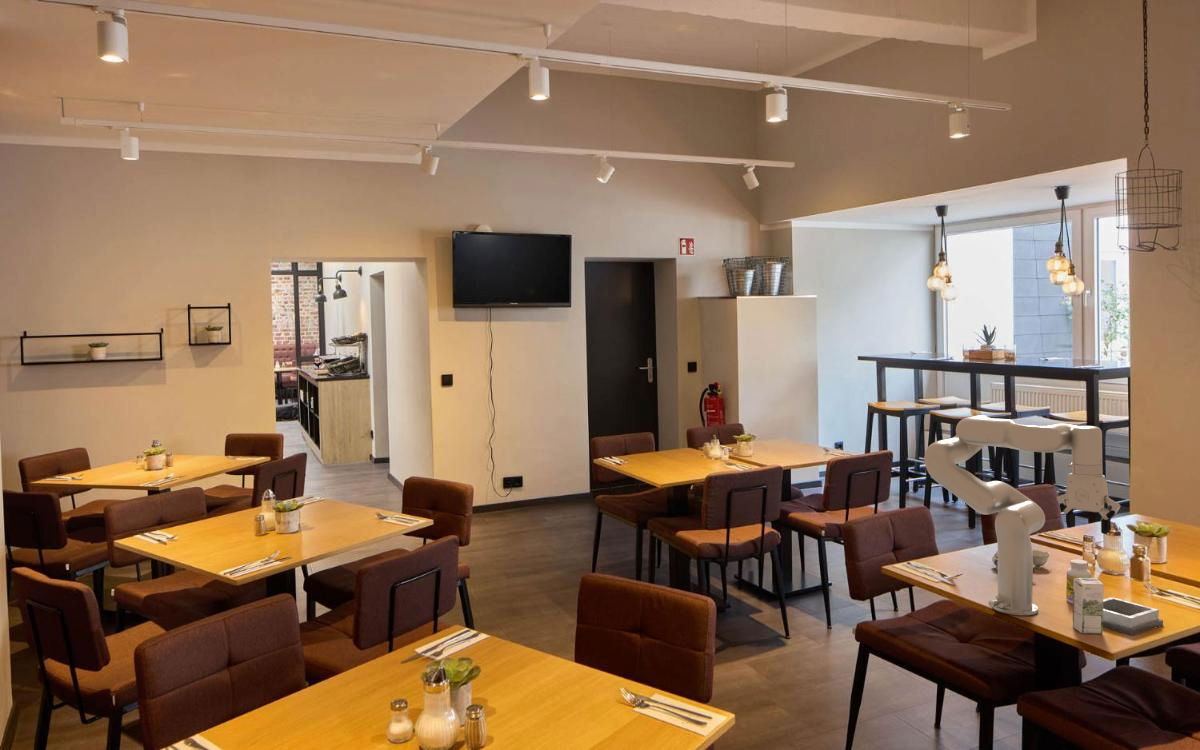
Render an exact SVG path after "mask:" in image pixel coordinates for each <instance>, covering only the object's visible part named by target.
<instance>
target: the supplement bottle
mask: <svg viewBox="0 0 1200 750" xmlns="http://www.w3.org/2000/svg"><path fill="white" fill-rule="evenodd" d="M1088 563H1089V561H1087V560H1083V559H1078V558H1077V559H1071V560H1070V562H1069V564H1070V567H1068V568H1067V570H1066V589H1065V590H1066V593H1065V594H1066V595H1065V597H1066V598H1065V599H1066V601H1067V602H1068V603H1070V604H1072V605H1073V584H1074V578H1092V572H1091V571H1090V570H1089V569H1088V566H1089V564H1088Z"/></svg>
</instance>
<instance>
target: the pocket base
mask: <svg viewBox="0 0 1200 750" xmlns="http://www.w3.org/2000/svg"><path fill="white" fill-rule="evenodd" d="M1159 610H1160V609H1158V608H1154V607H1150V606H1146V605H1144V604H1139V603H1136V602H1132V601H1128V600H1124V599H1120V598H1117V597H1113V596H1111V597H1107V598H1104V600H1103V628H1106V629H1109V630H1112V631H1115V630H1116V632H1119V633H1122V632H1123V634H1125V633H1126V634H1125V635H1130V636H1135V634H1136V635H1138V633H1139V634H1142V633H1144V632H1143V631H1145V632H1148V631H1150V630H1149V629H1151V630H1153V629H1152V628H1154V629H1156V628H1155V627H1157V628H1160V627H1162V625H1163V626H1164V620H1163V619H1160V618H1159V617H1160V616H1159V613H1160V611H1159ZM1159 626H1160V627H1159ZM1147 630H1148V631H1147ZM1141 632H1142V633H1141Z"/></svg>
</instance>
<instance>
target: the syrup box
mask: <svg viewBox="0 0 1200 750" xmlns="http://www.w3.org/2000/svg"><path fill="white" fill-rule="evenodd" d="M1104 588H1105V584H1103V582H1101V581H1100V580H1099V579H1097V578H1095V577H1091V578H1074V584H1073V604H1072V627H1073V628H1074V629H1075V630H1077V631H1078V632H1079V633H1081V634H1085V635H1086V634H1088V635H1089V634H1091V635H1094V634H1095V635H1097V634H1098V635H1101V634H1103V633H1104V631H1103V629H1104V627H1103V600H1104V599H1105V597H1104V596H1105V594H1104V593H1105V589H1104Z"/></svg>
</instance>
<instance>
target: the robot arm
mask: <svg viewBox="0 0 1200 750" xmlns="http://www.w3.org/2000/svg"><path fill="white" fill-rule="evenodd" d="M985 446H987V447H988V446H989V447H998V448H1009V449H1011V450H1012V449H1013V450H1017V451H1024V452H1033V453H1034V452H1035V453H1046V454H1048V453H1055V452H1056V453H1057V452H1059V451H1064V450H1069V449H1070V450H1071V463H1068V464H1067V469H1070V470H1071V472H1070V473H1068V476H1067V481H1066V488H1065V493H1064V494H1061V495H1058V496H1056V500H1057V502H1058V504H1059V507H1060V508H1061V509H1062V510H1063V513H1064V514H1065V523H1066V528H1068V529H1071V528H1074V527H1076V513H1075V512H1074V511H1075V510H1077V511H1083V512H1091V513H1098V514H1099V515H1100V516H1101V517H1102V519H1101V521H1100V525H1101V526H1100V531H1101V532H1100V533H1101V534H1103V535H1105V534H1109V533H1110V532H1111V530H1112V523H1111V522H1112V521H1111V519H1113V518H1114V517H1115V516H1116V515H1117V514H1118V511H1119V510H1120V508H1121V504H1120V503H1119V502H1116V501H1115V500H1113V499H1112V498H1110V497H1109V489H1108V482H1107V480H1106V476H1105V475H1104V474H1103V472H1104V471H1103V431H1102V429H1101V428H1100V427H1098V426H1095V425H1094V426H1093V425H1073V424H1069V423H1068V424H1067V423H1055V424H1050V425H1046V426H1045V425H1043V426H1041V425H1040V426H1039V425H1025V424H1019V423H1017V422H1016V423H1015V421H1014V420H1012V419H1006V418H991V417H990V416H987V415H983V414H982V415H981V414H980V415H972V416H968V417H964V418H963V419H961V420H959V421H958V423H957V424H956V427H955V435H954V436H953V437H951V438H946V439H940V440H938V441H935V442H932V443H931V444H930V445H928V446H927V448H926V450H925V452H924V465H925V468H926V470H927V473H928V474H929V475H930V477H931V478H932V479H933V480H934V482H936V483H938V484H939V485H940V486H941V487H943V488H945V489H946V490H947V491H948V492H950V493H952V494H953V495H954V496H955V497H957V498H958V499H959V500H960V501H962V502H963V503H965V504H967V505H968V506H969V507H970V508H972V509H973V510H974V511H975V512H976V513H977V512H978V514H981V515H987V516H988V515H993V514H996V513H997V514H996V517H995V520H994V521H995V522H994V528H995V529H994V530H995V534H996V541H997V551H998V570H997V594H996V595H995V598H994V599H992V600H989V601H988V602H987V603H988V606H989V607H990V608H993V610H995V611H996V612H1000V613H1003V614H1006V615H1014V616H1032V615H1033V616H1034V615H1036V614H1037V613H1038V612H1039V607H1038V606H1037V605H1036V604H1035V603H1033V590H1034V589H1033V586H1034V585H1033V583H1034V582H1033V579H1034V577H1033V573H1034V572H1033V569H1034V568H1033V544H1032V541H1031V536H1030V535H1031V534H1033V533H1036V532H1038V531H1039V530H1041V529H1042V528H1043V526H1044V525H1045V523H1046V514H1045V512H1044V510H1043V509H1042V508H1041V506H1040V505H1038V503H1036V502H1035V501H1034V500H1032V499H1031V498H1030V497H1028V496H1026V495H1025V494H1023V493H1021V492H1020V491H1019V490H1017V489H1016V488H1015V487H1014V486H1011V485H1010V484H1009V483H1006V482H1004V481H999V480H991V481H983V480H981V479H980V478H979V477H977V476H976V475H974V474H973V473H971V472H969V471H968V470H966V469H964V468H962V467H960V466H958V464H962V463H964V462H966V461H968V460H970V459H971V458H972V457H973V456H974V455H976V454H977V453H978V452H979V451H980V450H981V449H983V448H984V447H985ZM1109 506H1111V510H1110V511H1109V508H1110V507H1109Z"/></svg>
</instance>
